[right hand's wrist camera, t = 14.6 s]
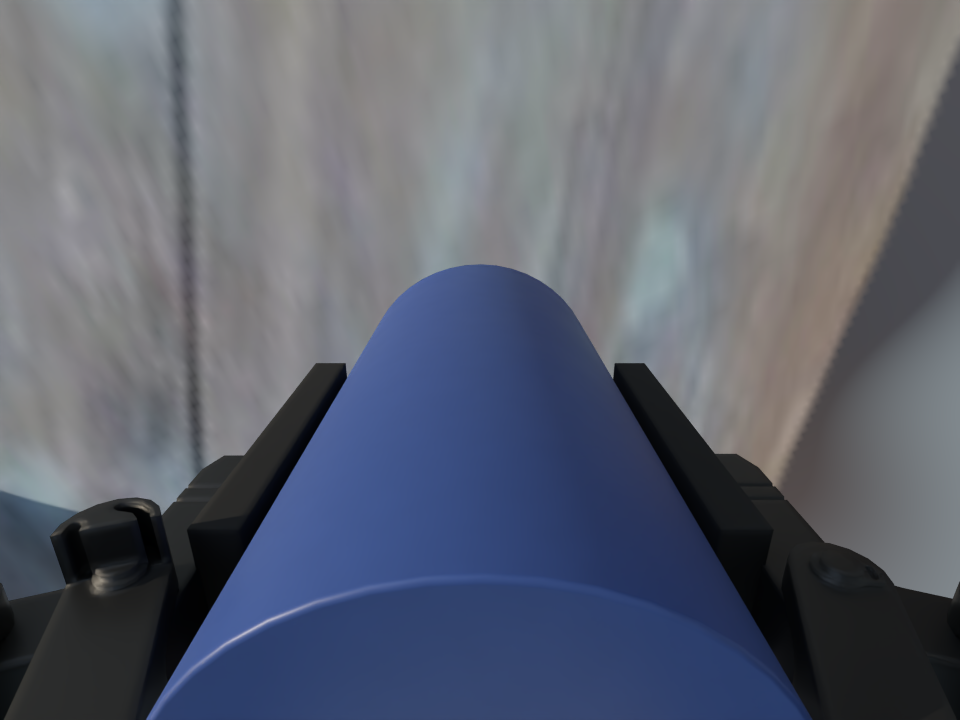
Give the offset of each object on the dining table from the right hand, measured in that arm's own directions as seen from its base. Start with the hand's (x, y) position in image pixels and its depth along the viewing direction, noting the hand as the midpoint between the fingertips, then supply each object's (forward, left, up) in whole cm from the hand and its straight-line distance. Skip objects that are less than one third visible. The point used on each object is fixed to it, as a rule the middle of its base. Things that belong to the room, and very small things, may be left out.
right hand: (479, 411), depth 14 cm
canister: (0, 0, -3) cm, 3 cm away
